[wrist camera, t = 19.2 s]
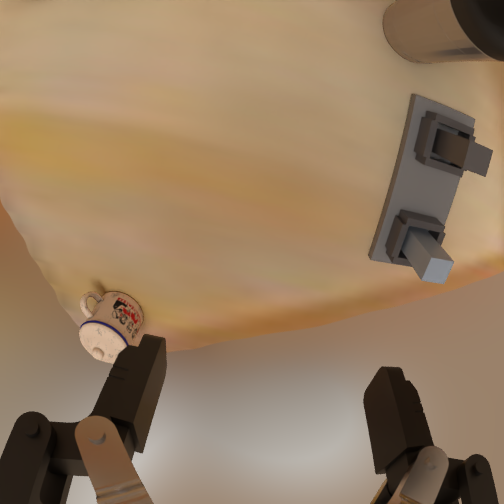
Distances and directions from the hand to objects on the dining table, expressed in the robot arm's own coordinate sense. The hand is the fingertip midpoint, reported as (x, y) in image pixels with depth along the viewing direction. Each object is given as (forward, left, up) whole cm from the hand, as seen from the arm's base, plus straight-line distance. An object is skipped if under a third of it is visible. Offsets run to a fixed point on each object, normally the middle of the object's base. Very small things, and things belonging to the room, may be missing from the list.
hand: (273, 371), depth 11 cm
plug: (+6, +21, -31) cm, 38 cm away
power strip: (-1, +21, -33) cm, 39 cm away
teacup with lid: (+28, -23, -33) cm, 49 cm away
